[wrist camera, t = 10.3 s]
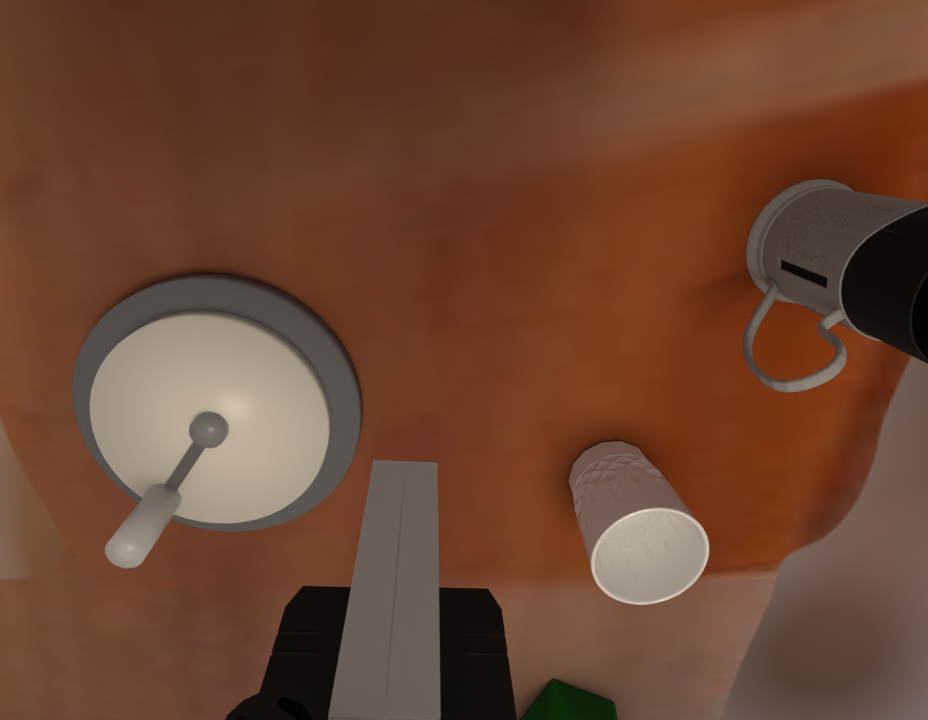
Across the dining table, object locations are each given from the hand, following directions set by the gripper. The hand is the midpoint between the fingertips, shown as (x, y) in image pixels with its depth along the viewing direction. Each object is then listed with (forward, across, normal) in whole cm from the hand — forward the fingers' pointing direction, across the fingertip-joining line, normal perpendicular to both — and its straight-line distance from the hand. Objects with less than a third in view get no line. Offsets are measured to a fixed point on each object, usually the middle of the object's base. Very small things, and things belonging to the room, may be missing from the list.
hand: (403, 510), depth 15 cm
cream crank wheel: (+27, -14, -12) cm, 33 cm away
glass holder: (+30, +25, +1) cm, 39 cm away
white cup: (+30, +16, -17) cm, 38 cm away
